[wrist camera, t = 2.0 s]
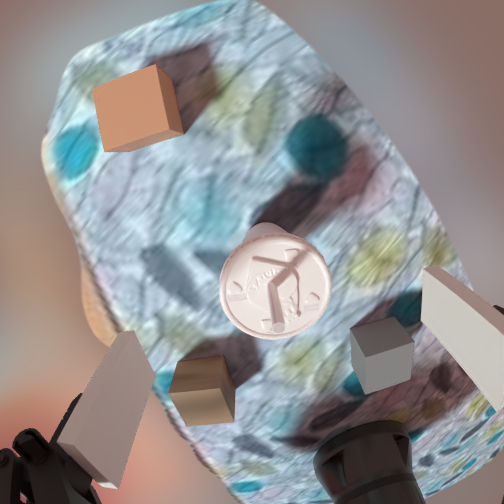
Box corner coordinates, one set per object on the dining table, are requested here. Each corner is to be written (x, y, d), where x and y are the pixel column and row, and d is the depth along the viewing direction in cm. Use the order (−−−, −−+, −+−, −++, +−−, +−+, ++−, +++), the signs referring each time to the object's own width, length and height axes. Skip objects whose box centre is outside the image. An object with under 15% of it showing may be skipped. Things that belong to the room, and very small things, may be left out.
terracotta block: (184, 134, 23) (169, 129, 18) (130, 151, 23) (104, 152, 18) (172, 80, 21) (155, 63, 16) (119, 99, 21) (92, 89, 17)
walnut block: (235, 388, 31) (234, 421, 26) (192, 393, 31) (186, 425, 26) (223, 354, 29) (219, 387, 24) (177, 361, 29) (168, 393, 25)
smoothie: (278, 191, 24) (317, 234, 11) (316, 254, 26) (377, 348, 13) (213, 232, 25) (177, 317, 12) (254, 291, 27) (260, 408, 14)
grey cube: (392, 352, 30) (410, 379, 25) (351, 364, 30) (365, 394, 25) (393, 315, 28) (414, 341, 23) (349, 328, 28) (365, 357, 24)
